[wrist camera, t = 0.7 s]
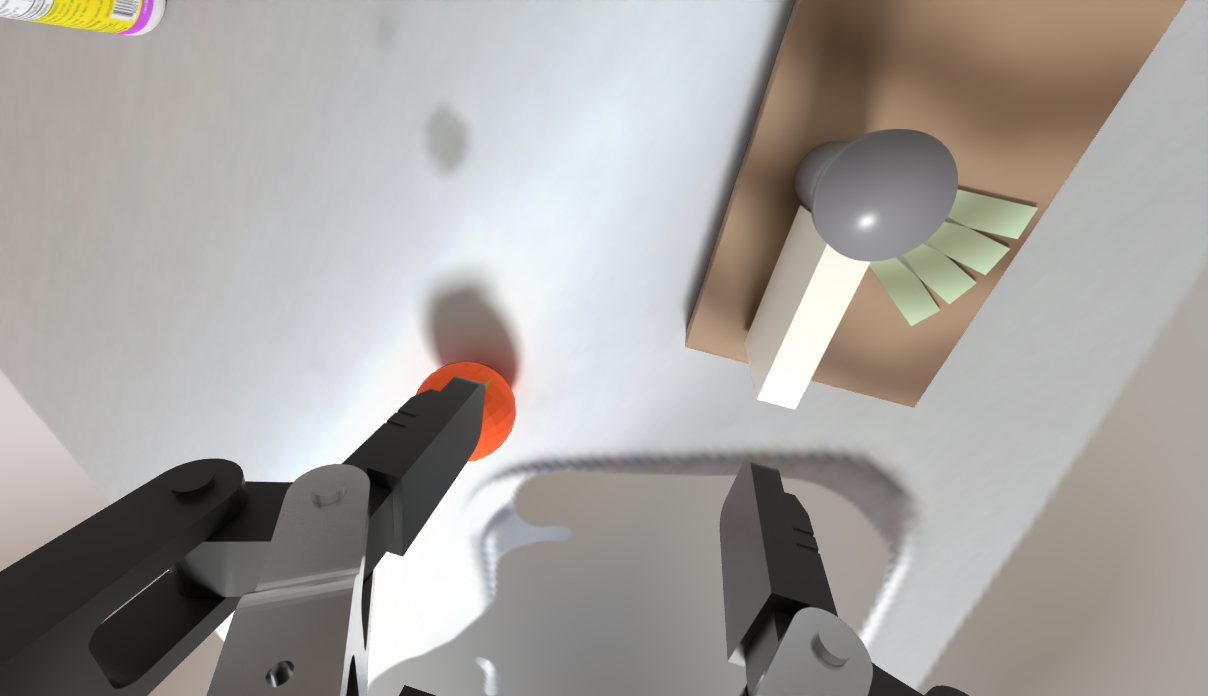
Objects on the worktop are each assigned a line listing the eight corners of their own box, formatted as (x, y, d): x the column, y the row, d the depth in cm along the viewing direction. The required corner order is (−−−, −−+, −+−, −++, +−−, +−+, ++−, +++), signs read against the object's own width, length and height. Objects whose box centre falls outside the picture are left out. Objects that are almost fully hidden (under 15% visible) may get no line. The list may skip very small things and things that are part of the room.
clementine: (476, 316, 31) (422, 364, 25) (554, 375, 33) (521, 435, 26) (429, 386, 35) (371, 443, 29) (500, 437, 36) (460, 502, 30)
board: (815, -61, 20) (828, -81, 18) (1144, 5, 19) (1196, -8, 17) (685, 333, 29) (685, 348, 27) (900, 389, 28) (915, 409, 26)
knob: (803, 117, 21) (850, 115, 15) (898, 139, 20) (987, 146, 14) (722, 335, 26) (730, 401, 20) (795, 354, 26) (827, 427, 20)
